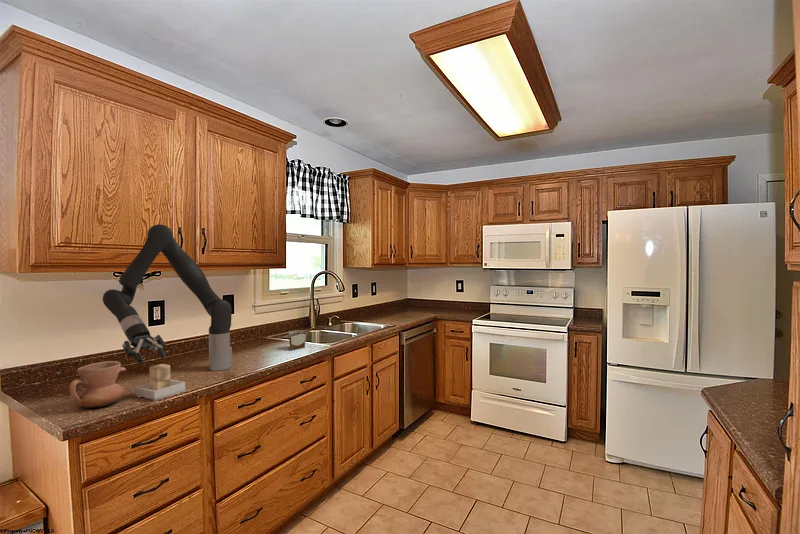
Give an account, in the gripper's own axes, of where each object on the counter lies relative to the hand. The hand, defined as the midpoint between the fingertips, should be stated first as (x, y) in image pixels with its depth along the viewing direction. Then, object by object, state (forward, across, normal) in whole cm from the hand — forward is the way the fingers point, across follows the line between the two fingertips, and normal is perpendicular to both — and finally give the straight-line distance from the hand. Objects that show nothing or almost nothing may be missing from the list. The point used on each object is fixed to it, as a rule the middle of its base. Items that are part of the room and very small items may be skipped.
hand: (153, 359), depth 154 cm
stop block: (+12, 0, +5) cm, 13 cm away
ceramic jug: (+6, -17, +12) cm, 22 cm away
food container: (+9, +84, +10) cm, 85 cm away
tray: (+12, 0, +6) cm, 14 cm away
